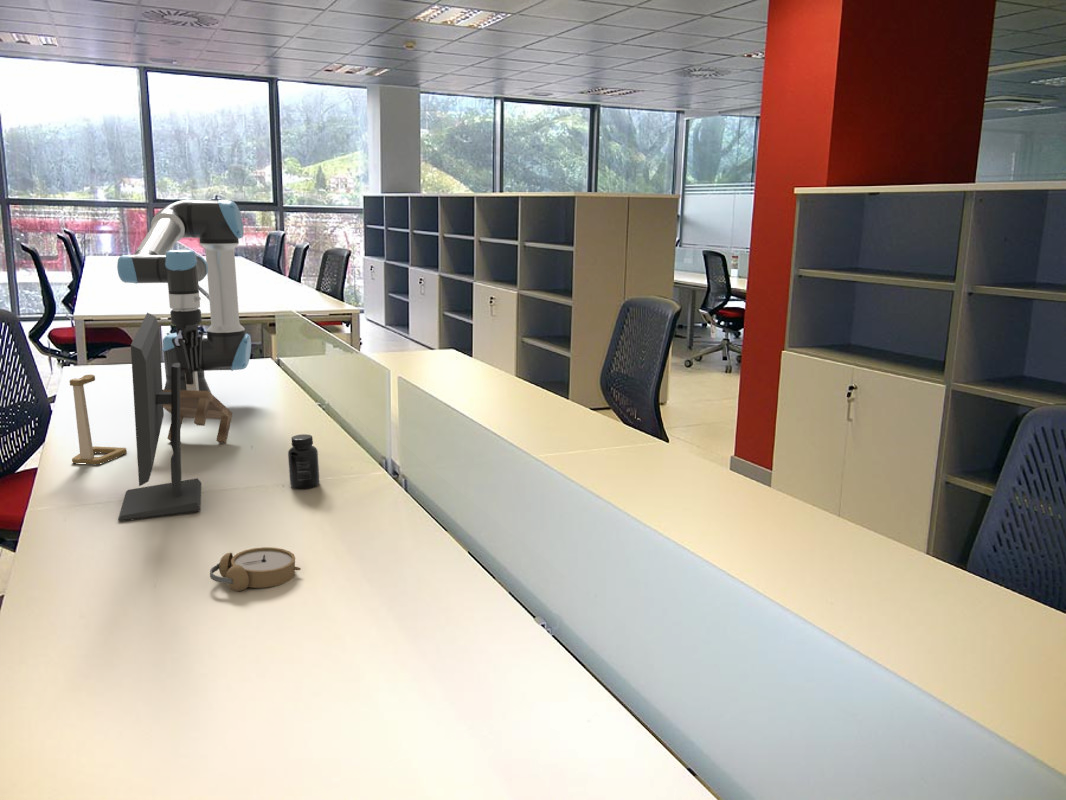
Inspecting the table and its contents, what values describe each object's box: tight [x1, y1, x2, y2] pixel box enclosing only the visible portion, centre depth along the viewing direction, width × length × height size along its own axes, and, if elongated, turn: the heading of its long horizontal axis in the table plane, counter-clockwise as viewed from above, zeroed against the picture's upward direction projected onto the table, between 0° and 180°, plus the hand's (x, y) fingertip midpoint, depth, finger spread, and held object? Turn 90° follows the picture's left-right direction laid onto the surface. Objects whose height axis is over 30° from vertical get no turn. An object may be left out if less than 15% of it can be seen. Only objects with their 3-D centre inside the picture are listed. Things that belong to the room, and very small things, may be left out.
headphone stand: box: [69, 374, 128, 465], centre depth 212 cm, size 10×11×22 cm
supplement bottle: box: [287, 434, 320, 490], centre depth 196 cm, size 7×7×12 cm
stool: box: [162, 389, 233, 444], centre depth 224 cm, size 9×16×16 cm
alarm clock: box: [209, 546, 302, 592], centre depth 150 cm, size 11×5×15 cm
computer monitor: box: [117, 312, 202, 522], centre depth 180 cm, size 44×16×40 cm, turn 21°
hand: (193, 395), depth 225 cm, fingers closed
